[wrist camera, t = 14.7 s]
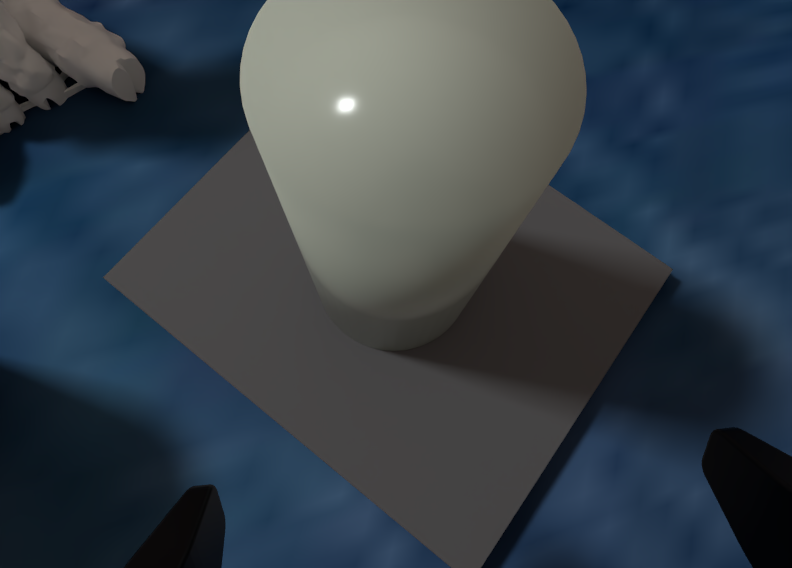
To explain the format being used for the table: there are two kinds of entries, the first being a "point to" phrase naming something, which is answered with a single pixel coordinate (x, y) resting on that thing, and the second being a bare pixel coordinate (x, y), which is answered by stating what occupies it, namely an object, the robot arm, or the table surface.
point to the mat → (400, 370)
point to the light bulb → (409, 145)
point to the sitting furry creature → (58, 58)
